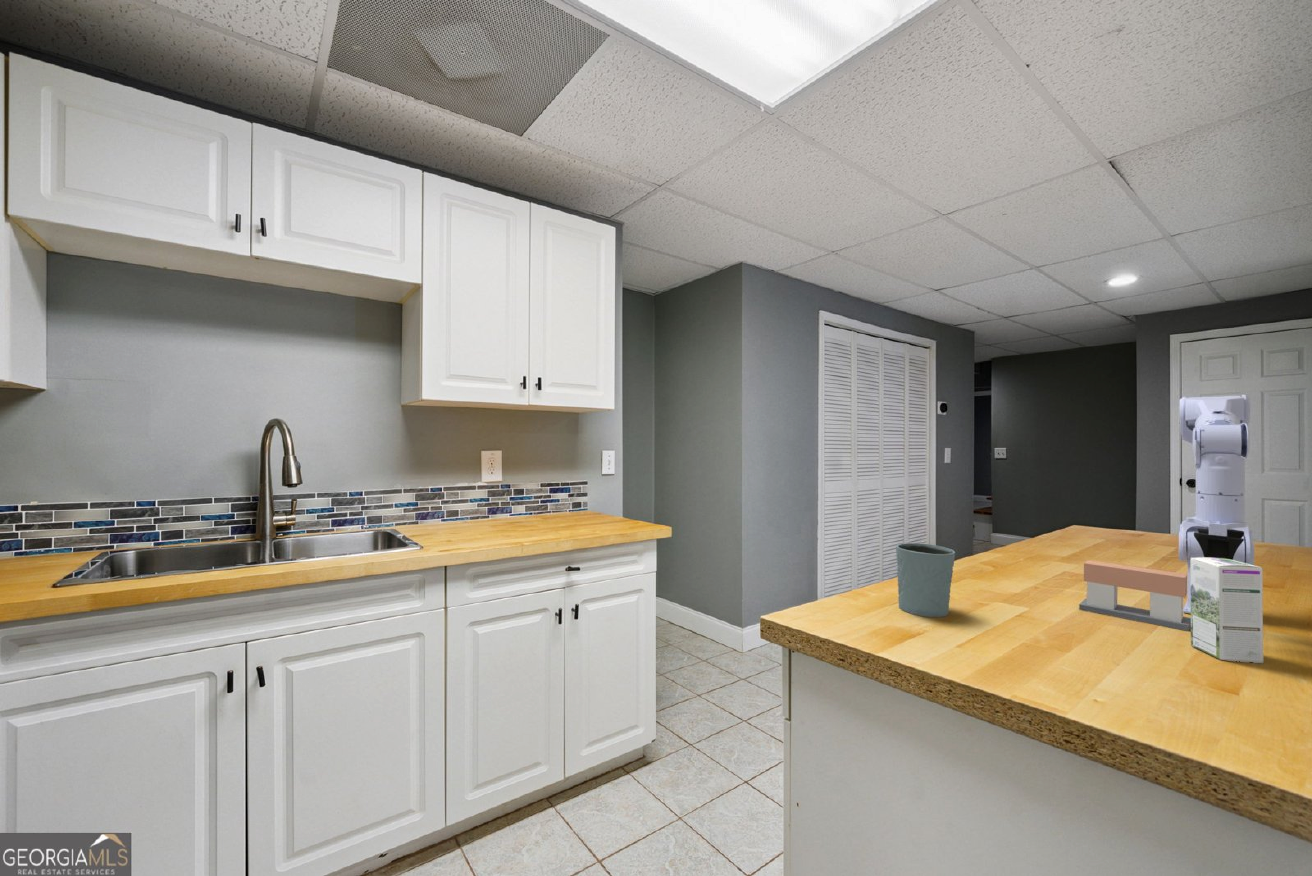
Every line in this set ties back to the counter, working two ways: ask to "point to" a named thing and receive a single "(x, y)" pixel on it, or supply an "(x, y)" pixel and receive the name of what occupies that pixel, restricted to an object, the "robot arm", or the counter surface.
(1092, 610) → the arch base
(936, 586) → the grey green cup
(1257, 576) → the syrup box
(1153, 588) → the beam
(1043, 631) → the counter surface
